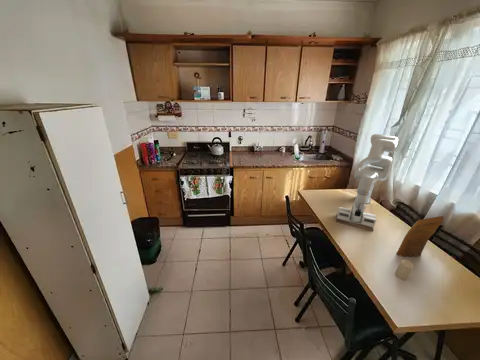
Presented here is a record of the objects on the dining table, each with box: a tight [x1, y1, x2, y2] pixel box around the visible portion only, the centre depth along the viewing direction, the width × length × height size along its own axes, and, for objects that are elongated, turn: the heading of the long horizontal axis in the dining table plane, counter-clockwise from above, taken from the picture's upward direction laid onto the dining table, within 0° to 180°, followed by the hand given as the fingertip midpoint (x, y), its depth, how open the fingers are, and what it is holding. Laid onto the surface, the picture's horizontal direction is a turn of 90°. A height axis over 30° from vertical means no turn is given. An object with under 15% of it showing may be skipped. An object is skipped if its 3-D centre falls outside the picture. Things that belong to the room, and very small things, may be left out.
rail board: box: [335, 206, 377, 232], centre depth 153 cm, size 10×24×8 cm, turn 65°
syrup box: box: [350, 200, 366, 222], centre depth 151 cm, size 6×6×14 cm
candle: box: [395, 259, 415, 281], centre depth 109 cm, size 6×6×10 cm
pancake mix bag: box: [395, 215, 444, 258], centre depth 120 cm, size 7×19×28 cm, turn 95°
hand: (356, 212), depth 151 cm, fingers open, 9 cm apart
